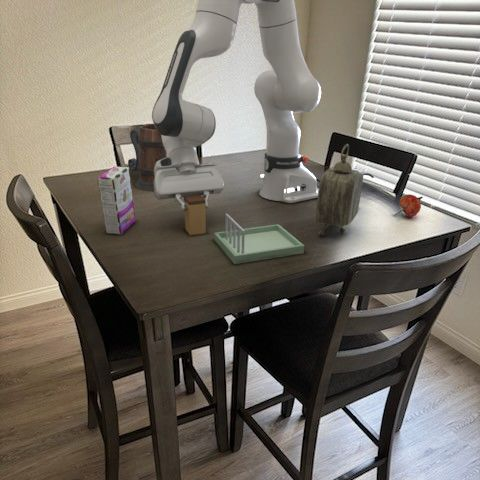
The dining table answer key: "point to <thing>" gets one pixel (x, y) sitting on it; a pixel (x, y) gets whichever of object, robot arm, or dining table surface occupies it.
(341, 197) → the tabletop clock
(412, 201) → the pomegranate
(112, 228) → the candy bar box
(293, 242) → the dish rack
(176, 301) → the dining table surface
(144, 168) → the tankard
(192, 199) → the kraft box
